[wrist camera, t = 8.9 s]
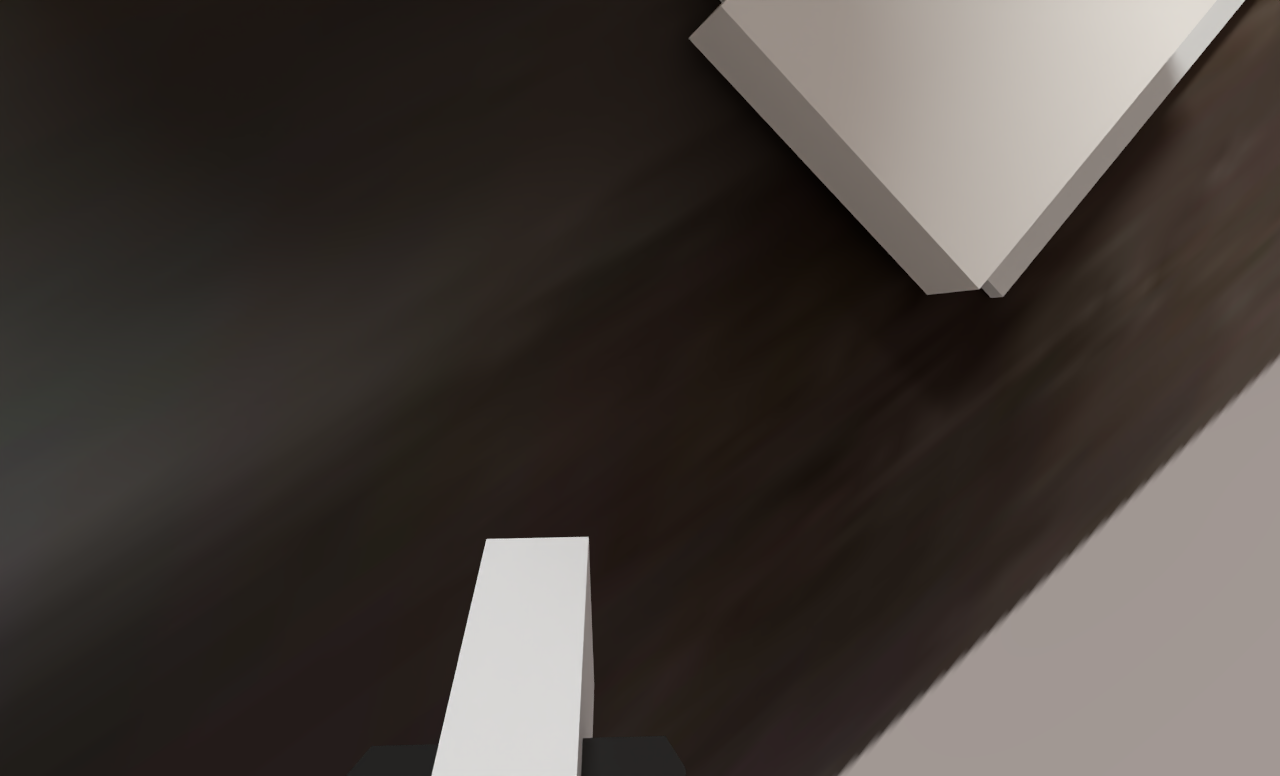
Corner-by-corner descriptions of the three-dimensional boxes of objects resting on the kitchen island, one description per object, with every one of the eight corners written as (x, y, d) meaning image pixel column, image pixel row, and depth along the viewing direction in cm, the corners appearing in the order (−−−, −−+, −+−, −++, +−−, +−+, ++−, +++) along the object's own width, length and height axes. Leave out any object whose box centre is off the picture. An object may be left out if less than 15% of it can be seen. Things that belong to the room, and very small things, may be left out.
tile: (979, 289, 26) (1229, -15, 28) (720, 6, 24) (1011, -304, 25) (923, 295, 28) (1155, 17, 30) (686, 40, 26) (952, -243, 28)
